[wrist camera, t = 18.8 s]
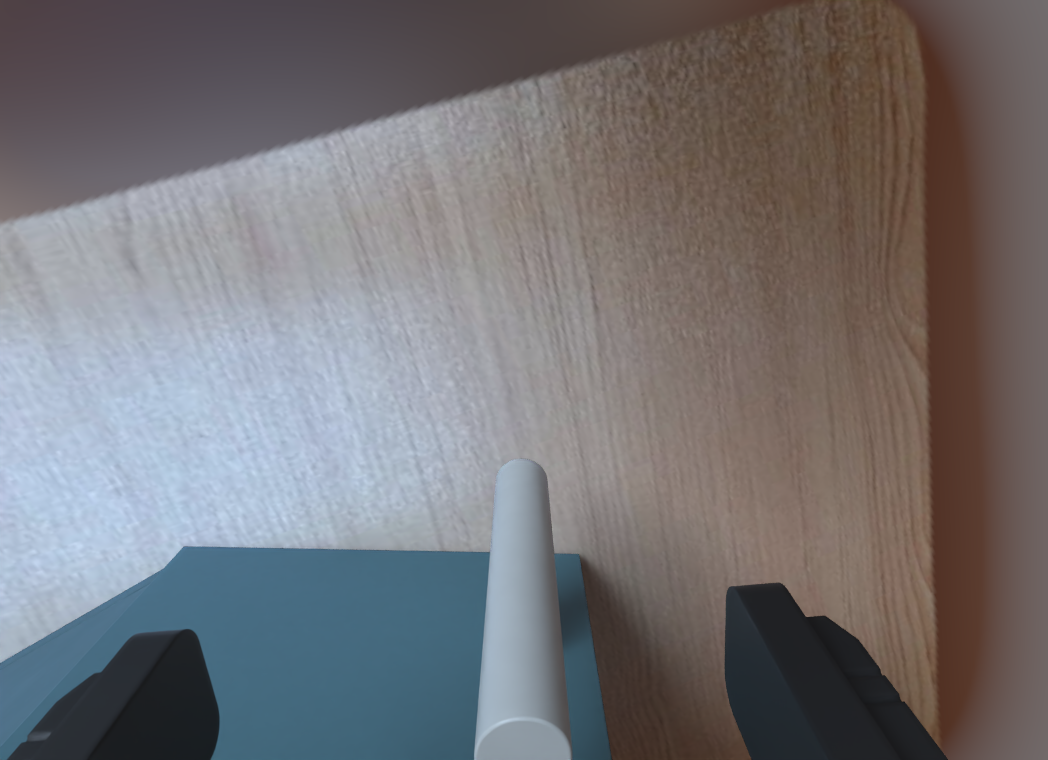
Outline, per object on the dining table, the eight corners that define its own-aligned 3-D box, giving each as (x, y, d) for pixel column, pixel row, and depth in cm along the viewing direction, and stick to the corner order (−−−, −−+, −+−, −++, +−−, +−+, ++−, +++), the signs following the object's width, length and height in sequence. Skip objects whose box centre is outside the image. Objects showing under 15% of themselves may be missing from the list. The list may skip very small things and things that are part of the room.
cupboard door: (161, 398, 24) (-693, 914, 7) (588, 407, 24) (745, 930, 7) (187, 567, 26) (-421, 1272, 9) (578, 574, 26) (682, 1275, 9)
